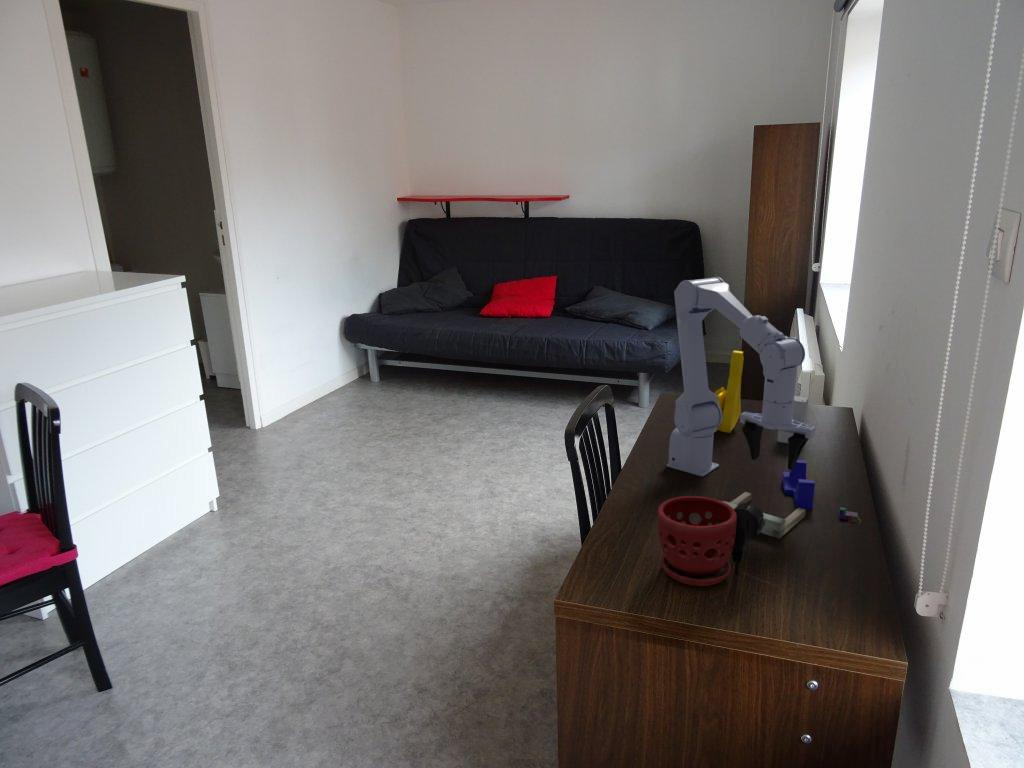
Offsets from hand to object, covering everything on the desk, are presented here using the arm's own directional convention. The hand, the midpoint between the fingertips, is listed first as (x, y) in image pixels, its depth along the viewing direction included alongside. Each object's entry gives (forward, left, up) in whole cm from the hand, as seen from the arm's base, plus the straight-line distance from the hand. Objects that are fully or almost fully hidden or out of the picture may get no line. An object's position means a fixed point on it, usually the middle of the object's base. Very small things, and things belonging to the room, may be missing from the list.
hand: (772, 463), depth 146 cm
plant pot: (+1, -32, -10) cm, 34 cm away
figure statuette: (-28, +35, -10) cm, 46 cm away
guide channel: (+1, -5, -10) cm, 11 cm away
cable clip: (+2, +9, -10) cm, 14 cm away
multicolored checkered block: (+14, +5, -11) cm, 18 cm away
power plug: (+7, -26, -10) cm, 28 cm away
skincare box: (-11, +38, -10) cm, 40 cm away
